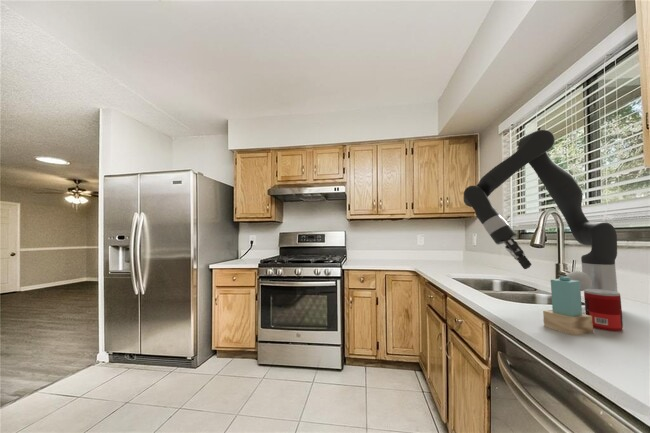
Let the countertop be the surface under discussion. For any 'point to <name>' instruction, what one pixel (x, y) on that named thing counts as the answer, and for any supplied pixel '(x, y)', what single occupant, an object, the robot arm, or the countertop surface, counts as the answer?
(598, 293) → the canned food
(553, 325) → the wooden block
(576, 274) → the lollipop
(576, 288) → the teal brick
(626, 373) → the countertop surface
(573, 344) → the countertop surface
